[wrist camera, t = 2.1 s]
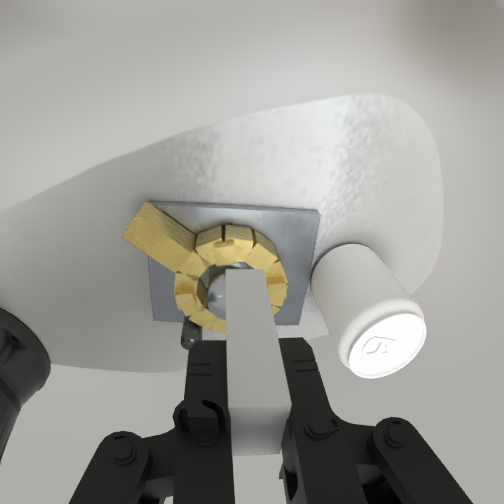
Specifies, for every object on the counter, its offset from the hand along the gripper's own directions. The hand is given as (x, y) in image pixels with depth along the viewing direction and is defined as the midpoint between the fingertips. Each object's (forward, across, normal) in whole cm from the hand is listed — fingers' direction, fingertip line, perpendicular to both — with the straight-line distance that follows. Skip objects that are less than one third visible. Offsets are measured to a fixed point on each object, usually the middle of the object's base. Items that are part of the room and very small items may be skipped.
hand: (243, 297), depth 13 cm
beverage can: (+18, +12, -9) cm, 23 cm away
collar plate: (+17, 0, -8) cm, 19 cm away
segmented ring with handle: (+16, -2, -6) cm, 17 cm away
